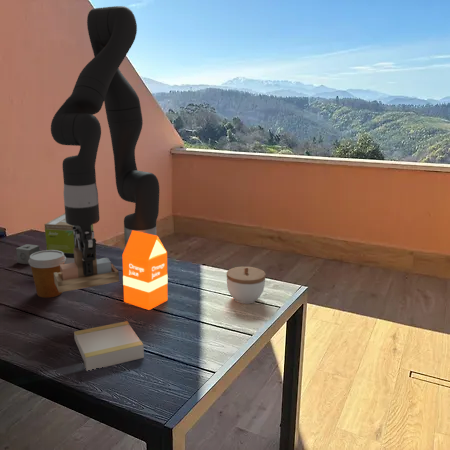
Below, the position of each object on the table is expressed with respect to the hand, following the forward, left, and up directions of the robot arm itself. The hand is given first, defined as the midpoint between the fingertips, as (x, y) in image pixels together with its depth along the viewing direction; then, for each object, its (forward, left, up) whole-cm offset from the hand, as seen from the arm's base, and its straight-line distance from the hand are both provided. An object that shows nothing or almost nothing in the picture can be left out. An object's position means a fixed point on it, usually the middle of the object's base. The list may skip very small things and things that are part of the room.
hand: (86, 271), depth 113 cm
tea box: (-5, -46, -13) cm, 48 cm away
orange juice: (-16, -3, -13) cm, 21 cm away
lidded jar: (-42, +5, -13) cm, 44 cm away
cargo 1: (+4, 0, -1) cm, 4 cm away
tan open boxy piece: (0, 0, -3) cm, 3 cm away
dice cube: (+8, -51, -13) cm, 53 cm away
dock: (-1, +16, -13) cm, 21 cm away
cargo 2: (-4, 0, -1) cm, 4 cm away
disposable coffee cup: (+6, -19, -13) cm, 24 cm away
